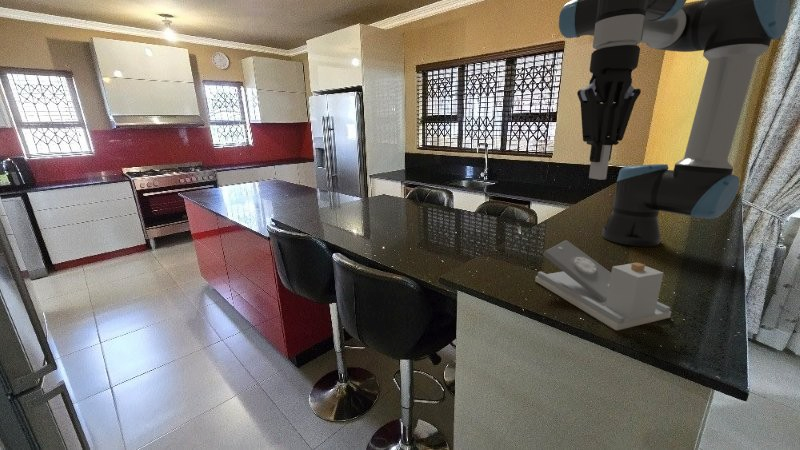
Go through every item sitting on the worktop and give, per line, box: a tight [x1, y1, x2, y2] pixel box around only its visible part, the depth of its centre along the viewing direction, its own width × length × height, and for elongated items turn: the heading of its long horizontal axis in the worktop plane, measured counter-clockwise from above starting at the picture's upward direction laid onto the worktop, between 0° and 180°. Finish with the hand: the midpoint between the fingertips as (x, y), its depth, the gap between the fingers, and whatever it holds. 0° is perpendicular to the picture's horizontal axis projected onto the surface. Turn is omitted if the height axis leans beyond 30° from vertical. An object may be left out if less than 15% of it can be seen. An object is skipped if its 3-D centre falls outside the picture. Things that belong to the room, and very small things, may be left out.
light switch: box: [542, 239, 612, 302], centre depth 73 cm, size 8×6×14 cm
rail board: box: [534, 262, 672, 331], centre depth 69 cm, size 13×21×10 cm, turn 18°
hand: (597, 178), depth 68 cm, fingers closed
